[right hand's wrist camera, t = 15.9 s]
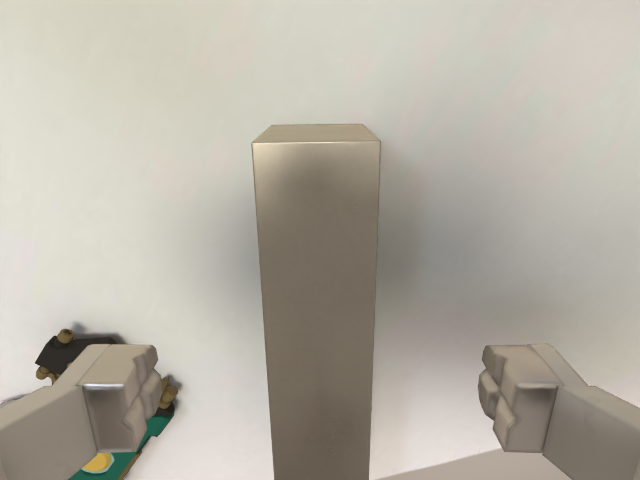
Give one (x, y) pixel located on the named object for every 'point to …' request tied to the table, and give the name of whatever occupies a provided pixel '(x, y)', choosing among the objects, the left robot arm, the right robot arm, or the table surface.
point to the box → (318, 294)
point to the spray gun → (106, 468)
